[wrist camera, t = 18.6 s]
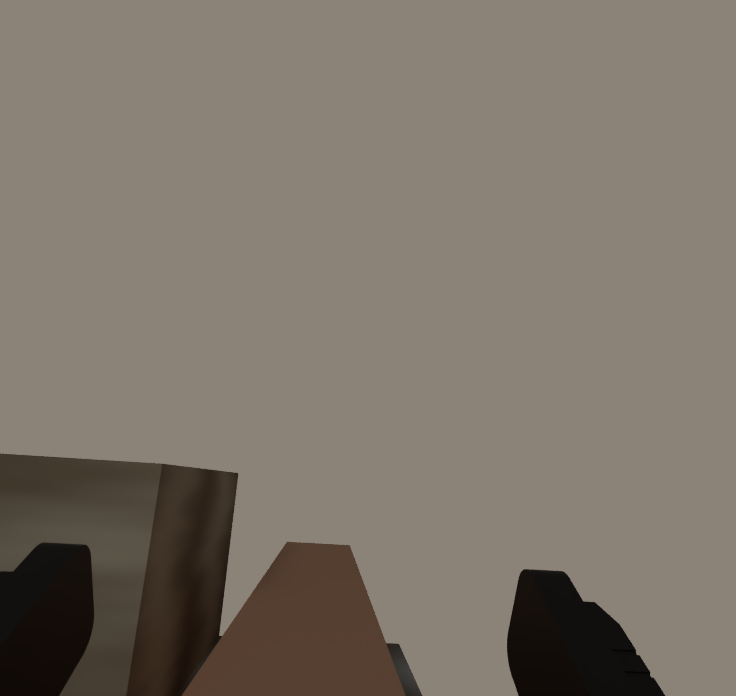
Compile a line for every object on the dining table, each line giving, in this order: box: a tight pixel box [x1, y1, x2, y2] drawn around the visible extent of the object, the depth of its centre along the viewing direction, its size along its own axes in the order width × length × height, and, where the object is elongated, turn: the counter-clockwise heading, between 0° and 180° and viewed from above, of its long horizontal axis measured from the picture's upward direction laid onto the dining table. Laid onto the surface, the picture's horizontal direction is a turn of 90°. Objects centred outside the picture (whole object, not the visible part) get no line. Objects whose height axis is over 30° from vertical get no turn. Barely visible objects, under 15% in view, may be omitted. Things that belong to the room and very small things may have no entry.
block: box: [182, 542, 405, 696], centre depth 17 cm, size 26×4×4 cm, turn 4°
